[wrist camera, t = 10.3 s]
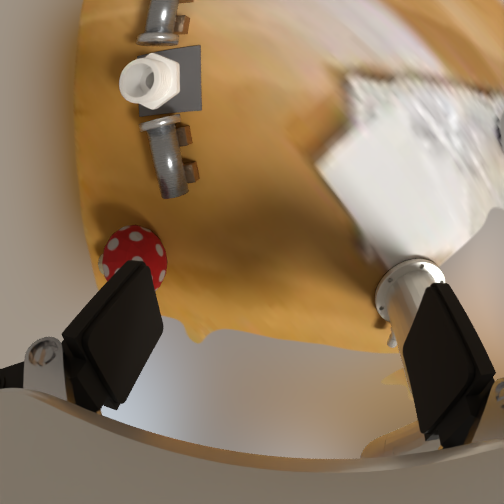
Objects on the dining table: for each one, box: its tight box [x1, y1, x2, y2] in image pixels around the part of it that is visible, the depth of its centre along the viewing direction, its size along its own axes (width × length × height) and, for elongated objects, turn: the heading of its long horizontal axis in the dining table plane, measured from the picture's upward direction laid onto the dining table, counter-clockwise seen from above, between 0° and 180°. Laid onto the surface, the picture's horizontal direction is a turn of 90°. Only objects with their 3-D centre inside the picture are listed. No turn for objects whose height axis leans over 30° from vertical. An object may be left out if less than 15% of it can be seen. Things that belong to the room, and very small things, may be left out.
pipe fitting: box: [119, 53, 180, 109], centre depth 28 cm, size 6×7×8 cm
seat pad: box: [137, 45, 202, 117], centre depth 32 cm, size 9×9×1 cm
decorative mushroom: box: [98, 225, 167, 291], centre depth 42 cm, size 11×11×15 cm
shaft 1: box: [136, 0, 193, 46], centre depth 24 cm, size 10×5×6 cm, turn 172°
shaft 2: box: [139, 114, 200, 199], centre depth 34 cm, size 10×5×6 cm, turn 8°
